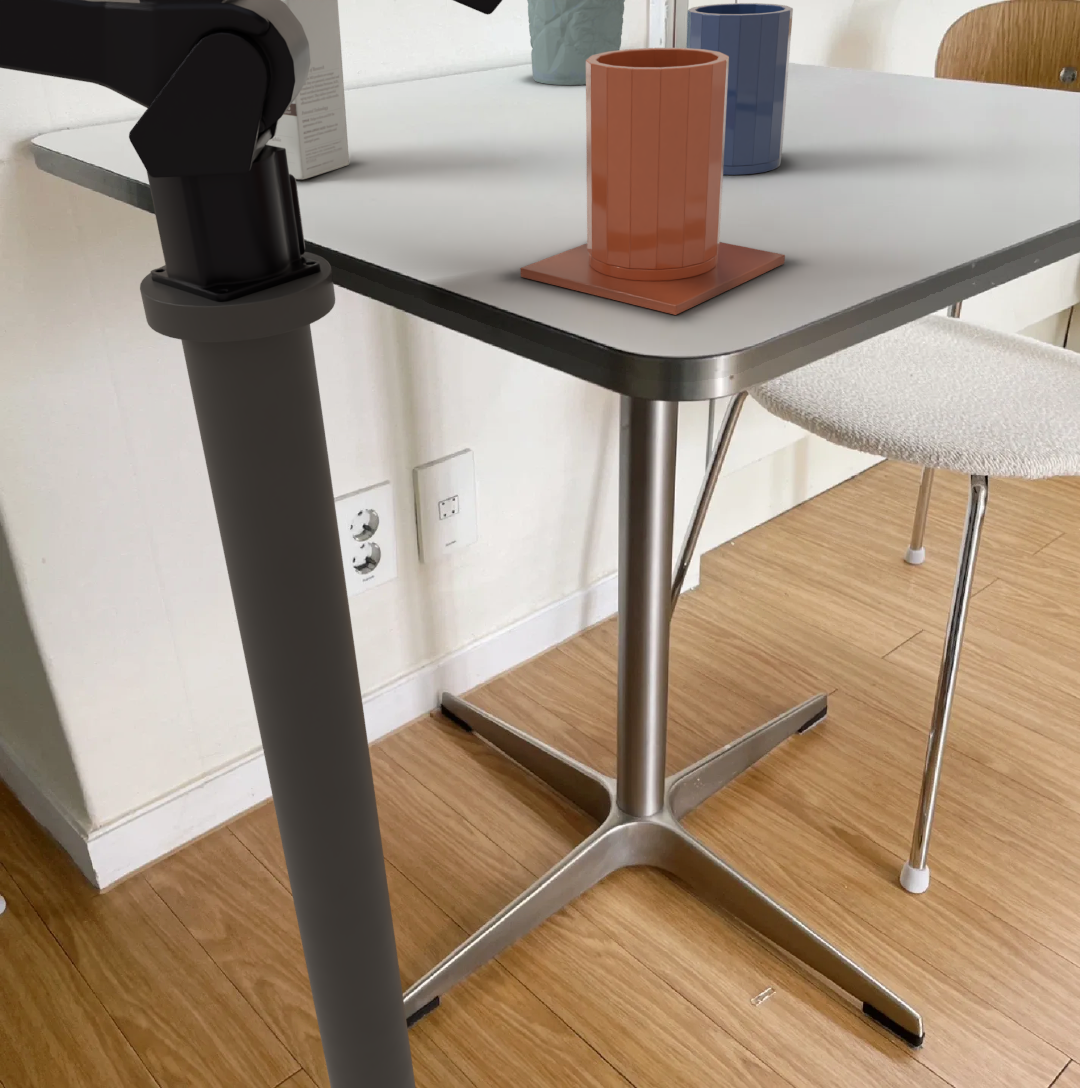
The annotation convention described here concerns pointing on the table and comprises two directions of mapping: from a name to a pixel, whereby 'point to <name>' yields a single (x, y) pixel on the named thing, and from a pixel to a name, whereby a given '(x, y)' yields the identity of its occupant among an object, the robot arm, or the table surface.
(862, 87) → the table surface
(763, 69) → the blue crock
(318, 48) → the cosmetic box
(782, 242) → the table surface
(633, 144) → the terracotta crock
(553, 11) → the grey-green textured cylinder
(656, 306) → the plate
